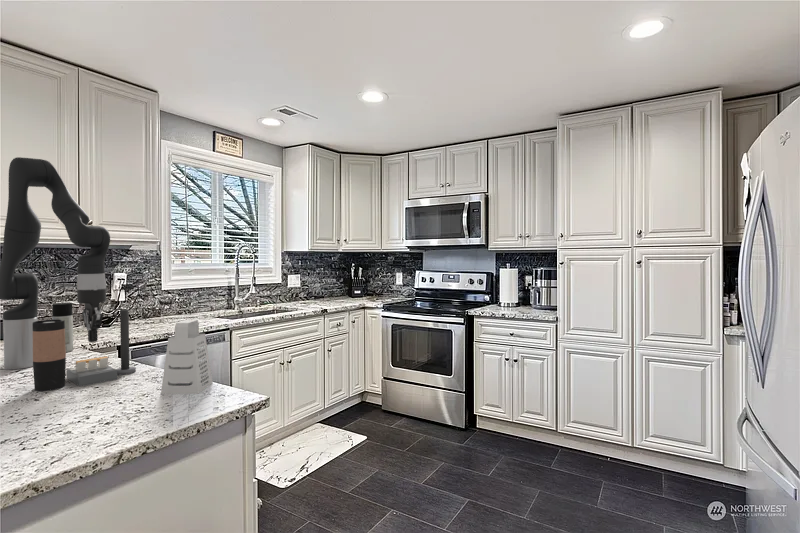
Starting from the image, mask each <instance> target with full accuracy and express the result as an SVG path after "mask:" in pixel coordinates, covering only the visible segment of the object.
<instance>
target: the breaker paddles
mask: <svg viewBox="0 0 800 533" xmlns="http://www.w3.org/2000/svg"><path fill="white" fill-rule="evenodd" d="M108 362H109V357H108V356H101V357H100V356H99V357H94V358H92V357H91V358H87V359H80V360H76V361H75V368H76V372H81V371H85V368H86V366H87V369H88V370H93V369H97V364H98V367H99V368H104V367H107V365H108ZM108 366H109V365H108Z"/></svg>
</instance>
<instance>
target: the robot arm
mask: <svg viewBox="0 0 800 533" xmlns="http://www.w3.org/2000/svg"><path fill="white" fill-rule="evenodd" d="M31 187H33V188H34V187H35V188H44V187H45V188H46V189H48V190H49V191H50V192H51V194H52V196H51V197H52V198H51V209H52V211H53V213H54V215H55V216H56V217H57V218H58V220H59V221H60V222H61V223H62V224H63V226H64V227H65V230H66V231H65V232H66V233H67V236H68V238H69V240H70V242H71V243H72V244H73V245H75V246H77V247H79V248H90V250H89V252H88V253H87V254H83V255H80V256H78V258H77V278H76V279H77V280H76V297H77V298H76V299H77V303H78V304H83V305H84V308H83V309H82V312H81V316H82V320H83V323H84V327H85V328H86V330H87V341H88V342H89V343H96V342H98V341H99V339H98V334H99V333H98V330H99V329H101V326H102V322H103V320H104V319H103V318H104V314H103V313H102V308H101V307H100V306H101V305H100V304H101V303H106V302H107V280H106V272H105V271H106V269H105V268H106V266H105V264H106V263H105V261H106V258H107V254H108V251H109V247H110V244H111V235H110V233H109V230H108V229H107V228H105V227H104V226H100V225H88V224H89V222H90V217H89V215H88V214H87V212H86V211H85V210H84V209H83V208H82V207H81V206H80V204H79V203H78V202H77V201H76V199H74V197H73V195H72V194H71V192H70V191H69V189H68V188H67V186H66V184H65V181H63V179H62V177H61V175H60V174H59V171H58V170H57V169H56V167H55V166H54V165H53V164H52V163H51V162H50V161H48V160H46V159H42V158H34V157H33V158H31V157H21V156H20V157H18V156H17V157H14V158H13V159H12V160H11V161H10V163H9V167H8V202H7V210H6V217H5V218H6V220H5V224H4V230H3V231H4V232H3V245H2V252H1V253H2V254H1V261H0V300H1V301H13V300H23V301H22V303H20V304H18V305H17V306H15V307H12V308H9V309H6V310H4V311H3V312H2V326H3V327H2V330H3V331H2V332H3V335H2V336H3V367H4V369H5V370H18V369H19V370H21V369H27V368H33V327H32V324H33V322H36V321H38V309H39V307H38V306H39V279H38V277H37V275H36V274H35V273H32V272H31V273H30V272H29V273H27V272H25V273H24V272H23V273H22V272H20V273H16V269H17V267H18V265H19V264H20V263H21V262H22V261H23V260H24V259H25V258H26V257H27V256H28V255H29V254H30V253H31V252H32V251H33V250H34V249H35V248H36V247H37V246H38V244H39V243H40V237H41V233H42V232H41V230H42V223H41V220H40V218H39V217H38V215H37V213H36V212H35V211H34V209H33V208H32V206H31V205H30V203H29V199H28V198H29V196H28V195H29V194H28V191H29V188H31Z"/></svg>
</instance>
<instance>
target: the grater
mask: <svg viewBox="0 0 800 533" xmlns="http://www.w3.org/2000/svg"><path fill="white" fill-rule="evenodd" d="M199 328H200V326H199V321H198V320H197V319H192V320H191V319H186V320H185V319H184V320H181V321H178V322H176V323H175V325H174V336H170V337H168V339H167V345H166V352H165V361H164V368H163V373H162V374H163V375H162V383H161V390H160V395H198V394H201V393H202V392H203V391H204V390H206V388H208V387H209V386H211V385H213V382H214V381H213V375H212V369H211V365H210V364H211V363H210V358H209V349H208V345H207V339H206V333H199V332H200V331H199V330H200V329H199ZM178 384H190V385H178Z"/></svg>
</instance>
